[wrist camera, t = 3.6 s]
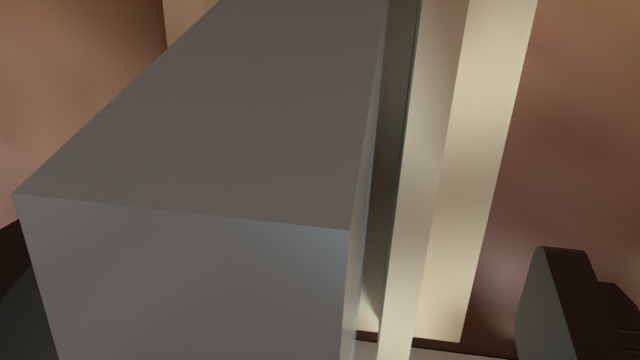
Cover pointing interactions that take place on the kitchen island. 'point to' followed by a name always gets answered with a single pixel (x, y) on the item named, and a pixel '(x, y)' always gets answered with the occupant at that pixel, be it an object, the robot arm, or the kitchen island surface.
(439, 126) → the plate stand
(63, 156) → the grey board
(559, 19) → the kitchen island surface
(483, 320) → the kitchen island surface
